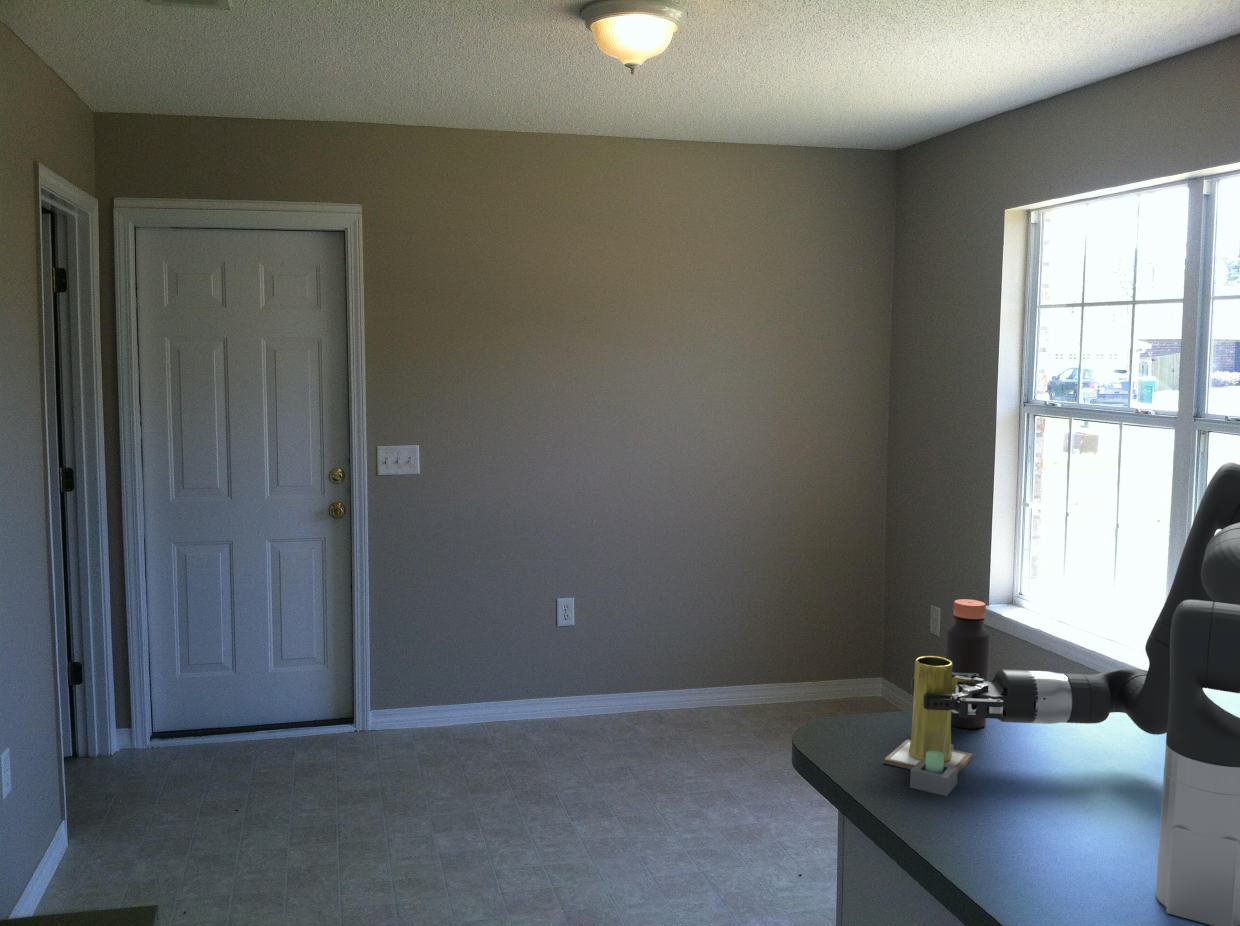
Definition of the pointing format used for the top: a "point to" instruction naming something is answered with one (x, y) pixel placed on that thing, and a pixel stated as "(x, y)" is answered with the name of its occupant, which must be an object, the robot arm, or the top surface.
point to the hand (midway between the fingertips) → (917, 692)
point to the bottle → (968, 649)
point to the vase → (931, 724)
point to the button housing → (933, 779)
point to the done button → (934, 762)
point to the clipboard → (905, 760)
